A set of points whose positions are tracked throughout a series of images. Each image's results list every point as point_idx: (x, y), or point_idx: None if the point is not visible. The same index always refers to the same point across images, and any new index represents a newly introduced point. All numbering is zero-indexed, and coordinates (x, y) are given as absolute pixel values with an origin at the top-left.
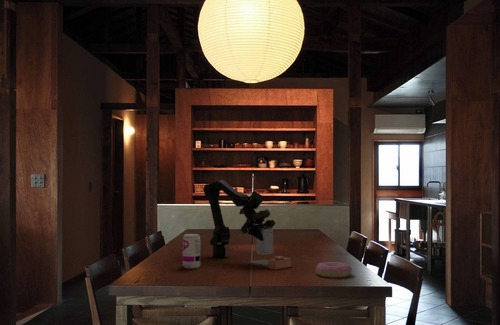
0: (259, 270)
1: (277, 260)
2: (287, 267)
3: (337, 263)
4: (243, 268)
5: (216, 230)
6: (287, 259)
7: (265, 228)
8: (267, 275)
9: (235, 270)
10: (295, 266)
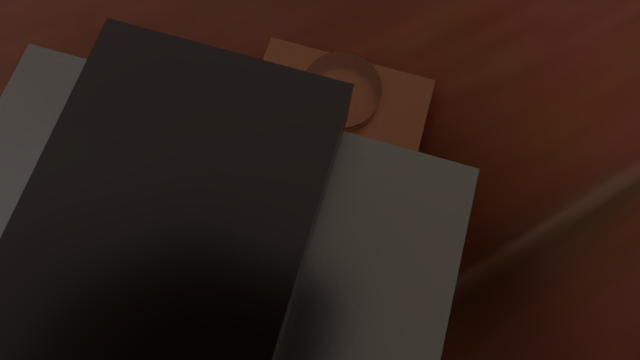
0: (498, 187)
1: (414, 77)
2: None
3: None
4: (504, 327)
5: None
6: (307, 49)
7: (310, 236)
8: (601, 68)
9: (604, 337)
10: None
